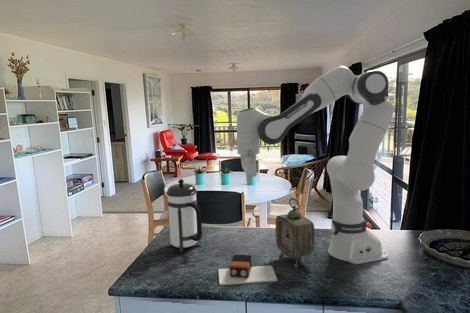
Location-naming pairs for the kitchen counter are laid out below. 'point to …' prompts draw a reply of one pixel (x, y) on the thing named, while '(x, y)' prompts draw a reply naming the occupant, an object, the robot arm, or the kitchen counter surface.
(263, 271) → the mat
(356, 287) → the kitchen counter surface
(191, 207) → the coffee press
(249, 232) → the kitchen counter surface
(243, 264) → the battery
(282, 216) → the tabletop clock
